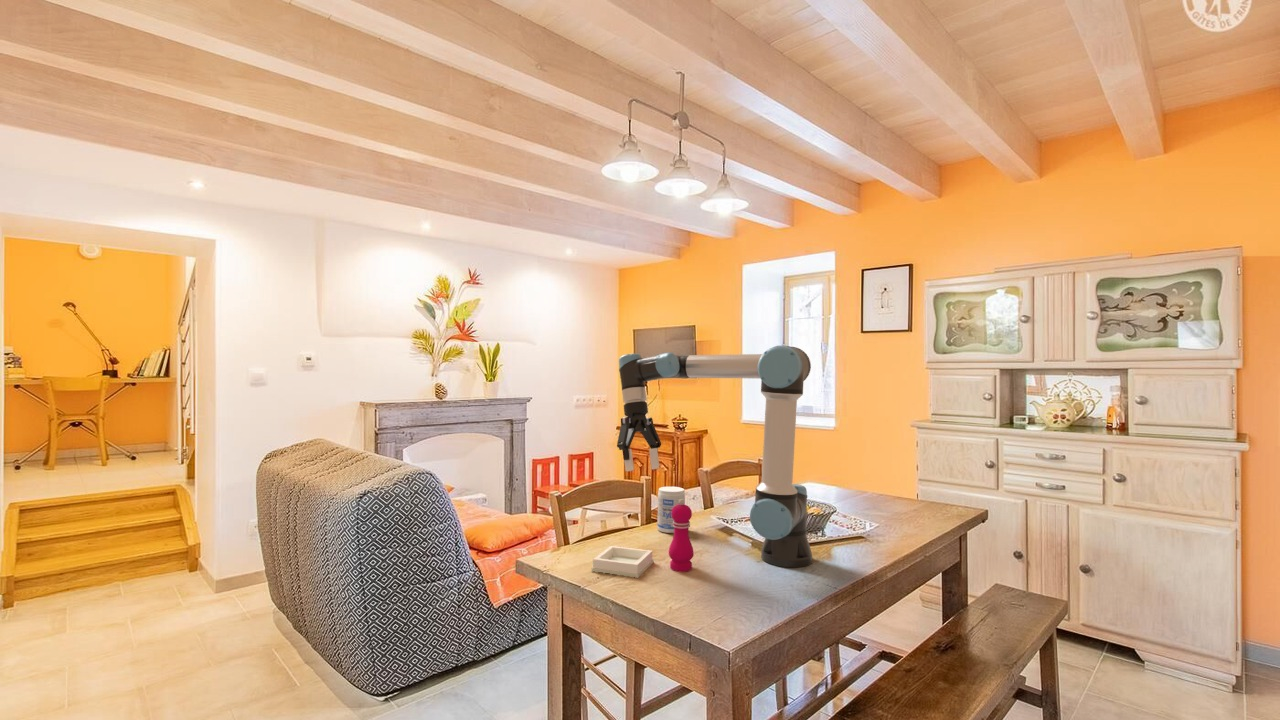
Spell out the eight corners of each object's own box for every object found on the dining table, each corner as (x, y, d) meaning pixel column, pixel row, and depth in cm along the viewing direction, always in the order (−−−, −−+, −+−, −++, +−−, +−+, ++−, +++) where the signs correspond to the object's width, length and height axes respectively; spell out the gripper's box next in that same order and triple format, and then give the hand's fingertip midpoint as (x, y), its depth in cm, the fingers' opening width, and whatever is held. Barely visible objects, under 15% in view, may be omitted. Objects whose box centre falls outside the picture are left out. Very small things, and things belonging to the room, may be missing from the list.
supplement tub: (662, 534, 209) (662, 492, 209) (653, 527, 218) (654, 486, 218) (688, 532, 211) (688, 490, 212) (678, 525, 221) (679, 485, 221)
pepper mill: (679, 574, 170) (680, 503, 170) (663, 567, 176) (664, 498, 176) (698, 569, 174) (699, 500, 174) (682, 562, 180) (683, 495, 180)
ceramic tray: (653, 562, 180) (653, 550, 180) (637, 577, 167) (638, 565, 167) (610, 556, 185) (610, 545, 185) (591, 571, 171) (591, 559, 171)
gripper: (648, 406, 204) (656, 469, 199) (600, 403, 184) (608, 473, 179) (666, 402, 200) (674, 466, 195) (619, 398, 180) (628, 470, 175)
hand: (643, 470), depth 187 cm, fingers open, 13 cm apart
